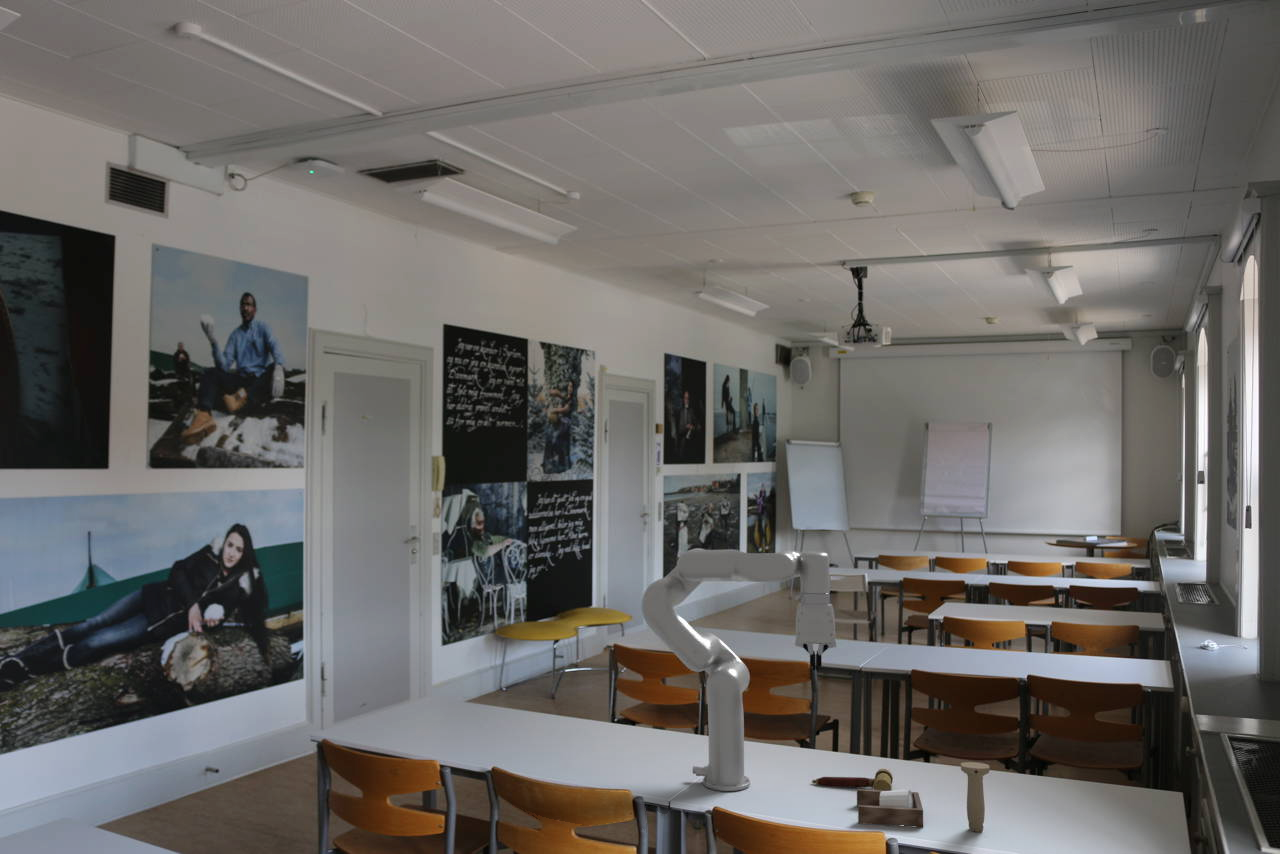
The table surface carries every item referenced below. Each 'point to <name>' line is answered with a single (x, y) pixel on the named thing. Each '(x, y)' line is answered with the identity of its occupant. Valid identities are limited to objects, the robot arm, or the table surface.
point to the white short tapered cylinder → (896, 798)
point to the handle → (975, 793)
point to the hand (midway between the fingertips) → (815, 669)
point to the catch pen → (887, 810)
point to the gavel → (859, 781)
